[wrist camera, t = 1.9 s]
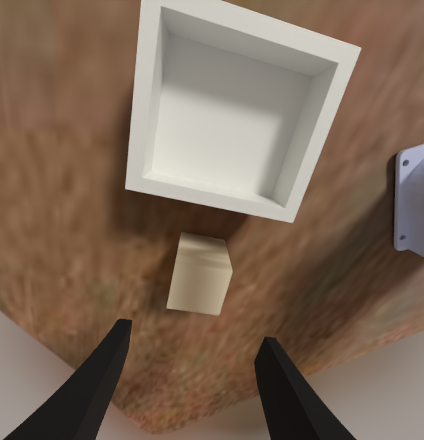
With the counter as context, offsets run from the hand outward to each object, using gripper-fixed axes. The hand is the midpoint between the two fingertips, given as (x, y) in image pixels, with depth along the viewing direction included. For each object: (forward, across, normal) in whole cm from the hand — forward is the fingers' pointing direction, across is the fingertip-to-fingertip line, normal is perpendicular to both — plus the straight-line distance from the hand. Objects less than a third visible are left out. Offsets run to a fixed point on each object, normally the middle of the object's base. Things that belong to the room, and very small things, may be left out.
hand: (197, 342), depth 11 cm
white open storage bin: (+9, 0, -11) cm, 14 cm away
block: (+9, 0, 0) cm, 9 cm away
